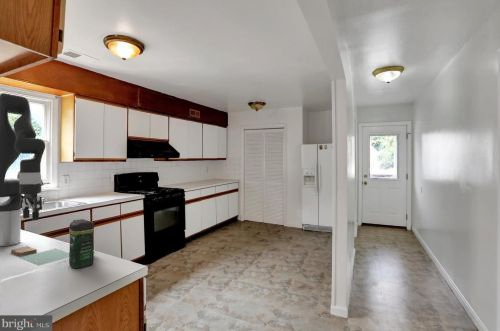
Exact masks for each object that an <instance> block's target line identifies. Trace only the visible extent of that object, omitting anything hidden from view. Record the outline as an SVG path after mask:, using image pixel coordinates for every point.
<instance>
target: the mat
mask: <svg viewBox="0 0 500 331" xmlns="http://www.w3.org/2000/svg"><path fill="white" fill-rule="evenodd" d="M66 258H69V251H65V250H61V249H57V248H52V249H48V250H43V251H41V252H40V251H39V252H37V253H33V254H29V255H25V256H21V257H20V256H19V259H21V260H23V261H26V262H27V263H31V264H33V265H36V266H42V265H45V264H49V263H53V262H56V261H59V260H63V259H66Z"/></svg>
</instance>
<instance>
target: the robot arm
mask: <svg viewBox="0 0 500 331" xmlns="http://www.w3.org/2000/svg"><path fill="white" fill-rule="evenodd" d="M31 111H32V110H31V105H30V101H29V99H28V98H27V97H24V96H21V95H16V94H11V93H5V92H3V93H0V198H8V197H9V198H8V199H6V200H5V201H4V202H0V247H6V246H8V247H9V246H13V245H14V246H15V245H17V244H19V243H21V234H22V233H21V232H22V230H21V229H22V228H21V223H22V222H21V219H22V218H23V219H29V218H30V213H31V212H30V209H31V211H32V213H31V218H32V221H38V220H39V219H40V211H42V210H43V203H42V202H43V201H42V200H43V198H42V196H38V194H41V193H42V173H41V165H42V164H41V163H42V159H43V155H44V153H45V150H46V143H45V141H44V140H43V139H42V138H36V136H37V133H36V130H35V127H34V125H33V121H32V120H33V119H32V112H31ZM9 114H11V115H20V116H19V117H18V118H17V119H16V120H14V123H13V126H12V124H11V122H10V119H9ZM21 154H23V155H24V154H26V155H27V154H28V155H29V154H30V155H31V154H33V156H32V157H30V158H25V159H20V162H19V177H17V178H15V177H14V178H6V175H7V172H8V170H9V168H10V167H11V166H12V165H13V164H14V163H15V162H16V161H17V159H19V157H20V155H21ZM21 210H22V218H21Z"/></svg>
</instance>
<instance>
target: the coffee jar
mask: <svg viewBox="0 0 500 331" xmlns="http://www.w3.org/2000/svg"><path fill="white" fill-rule="evenodd" d="M68 231H69V251H68V253H69V257H68V264H69V266H70V267H72V268H74V269H79V268H82V269H84V268H87V267H90V266H91V265H93V264H94V262H95V258H94V256H95V254H94V253H95V252H94V249H95V246H94V241H95V240H94V237H95V236H94V234H95V233H94V232H95V224H94V222H93V221H90V220H87V219H84V218H81V219H74V220H72V221H71V222H70V223H69V230H68Z"/></svg>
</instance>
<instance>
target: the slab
mask: <svg viewBox="0 0 500 331" xmlns="http://www.w3.org/2000/svg"><path fill="white" fill-rule="evenodd" d="M37 251H38V250H37V248H34V247H31V246H28V245H27V246H25V245H24V246H21V247H17V248H11V250H10V253H11V254H13V255H16V256H18V257H19V258H20V257H24V256H28V255H32V254H36V253H38V252H37Z"/></svg>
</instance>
